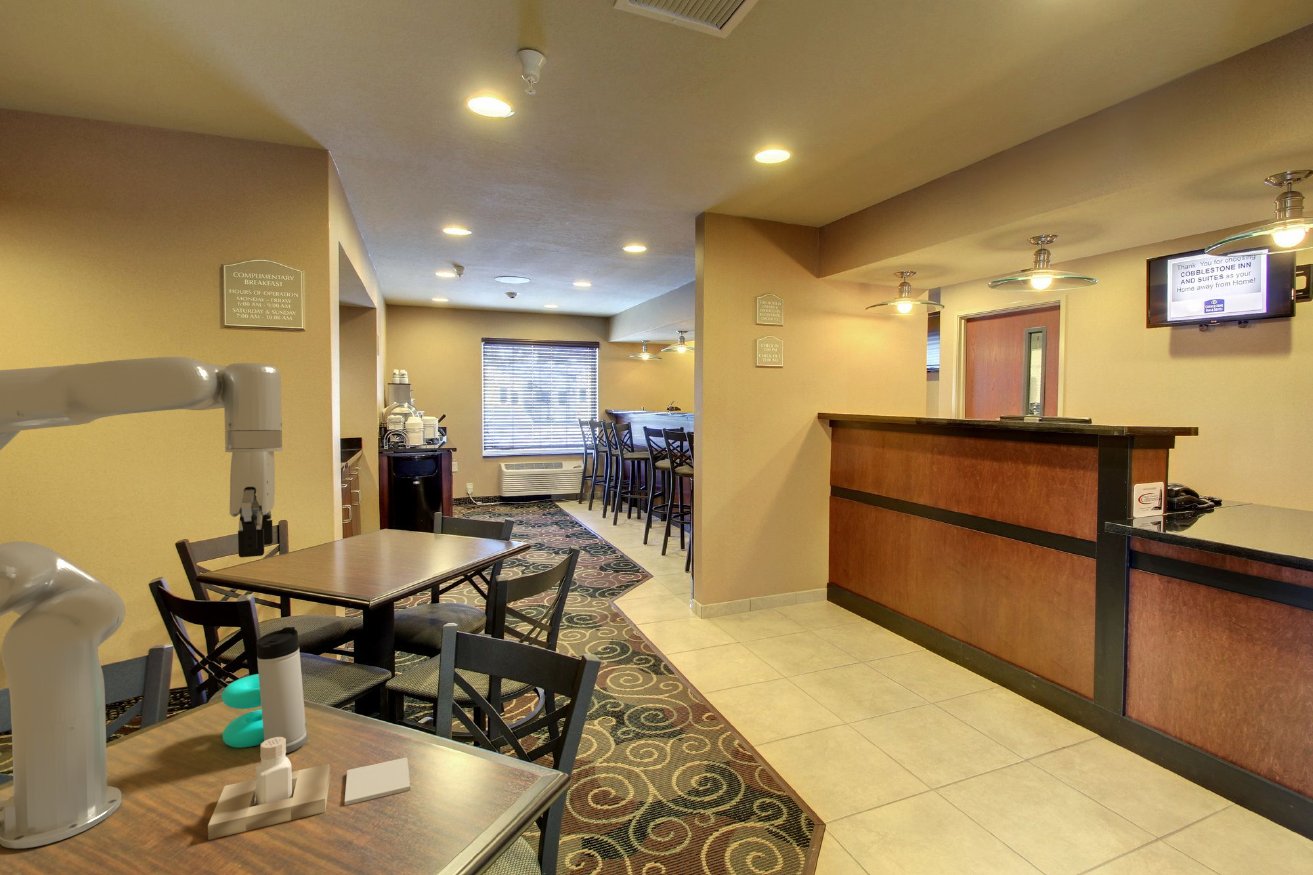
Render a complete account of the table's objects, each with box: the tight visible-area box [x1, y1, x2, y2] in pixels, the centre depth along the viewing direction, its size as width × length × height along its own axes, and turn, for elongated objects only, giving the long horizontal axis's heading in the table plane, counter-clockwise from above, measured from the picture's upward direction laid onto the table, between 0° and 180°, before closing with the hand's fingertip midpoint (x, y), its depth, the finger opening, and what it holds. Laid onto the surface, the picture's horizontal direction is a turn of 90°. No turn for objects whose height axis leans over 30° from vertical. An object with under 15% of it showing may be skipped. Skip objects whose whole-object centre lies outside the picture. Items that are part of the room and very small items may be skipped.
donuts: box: [221, 673, 264, 748], centre depth 110 cm, size 10×10×10 cm
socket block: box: [207, 763, 331, 841], centre depth 90 cm, size 14×10×2 cm
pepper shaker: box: [255, 737, 293, 806], centre depth 90 cm, size 4×4×10 cm
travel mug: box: [255, 626, 308, 755], centre depth 106 cm, size 6×7×20 cm
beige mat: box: [344, 757, 411, 806], centre depth 96 cm, size 9×9×1 cm
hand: (256, 550), depth 96 cm, fingers open, 9 cm apart
